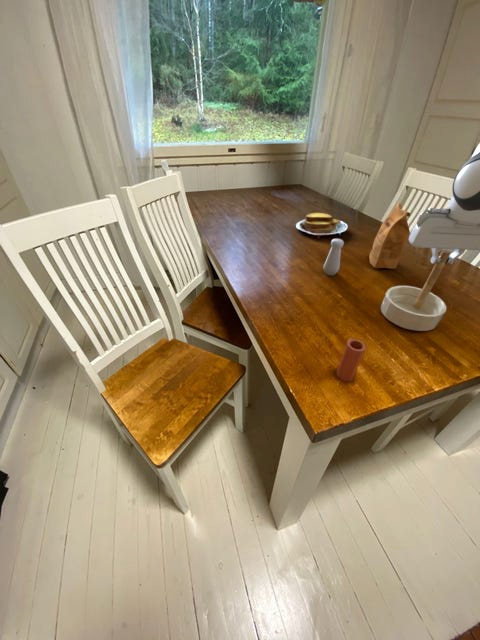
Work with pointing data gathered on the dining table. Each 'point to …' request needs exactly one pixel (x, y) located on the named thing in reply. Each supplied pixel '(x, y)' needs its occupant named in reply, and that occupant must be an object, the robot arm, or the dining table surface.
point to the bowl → (412, 308)
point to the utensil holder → (350, 359)
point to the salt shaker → (333, 257)
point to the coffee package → (390, 239)
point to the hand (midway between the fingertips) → (440, 263)
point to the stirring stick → (431, 279)
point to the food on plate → (321, 224)
